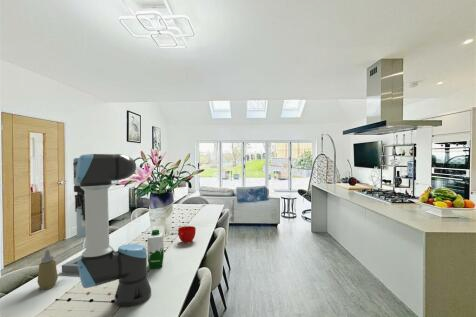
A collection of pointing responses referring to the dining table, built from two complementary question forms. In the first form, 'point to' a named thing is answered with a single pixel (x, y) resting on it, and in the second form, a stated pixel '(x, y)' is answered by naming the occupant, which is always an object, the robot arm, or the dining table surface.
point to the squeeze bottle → (47, 272)
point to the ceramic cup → (186, 233)
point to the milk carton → (155, 249)
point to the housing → (72, 265)
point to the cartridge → (79, 226)
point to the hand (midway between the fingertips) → (82, 225)
